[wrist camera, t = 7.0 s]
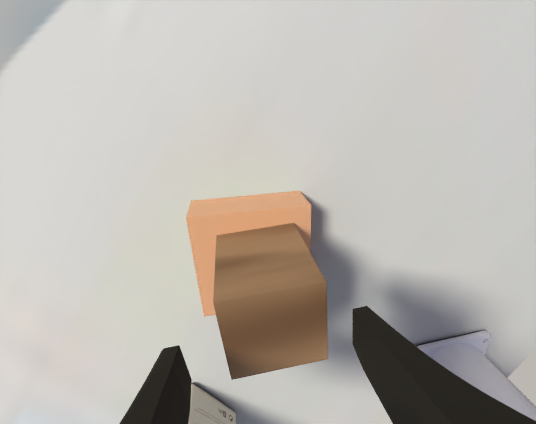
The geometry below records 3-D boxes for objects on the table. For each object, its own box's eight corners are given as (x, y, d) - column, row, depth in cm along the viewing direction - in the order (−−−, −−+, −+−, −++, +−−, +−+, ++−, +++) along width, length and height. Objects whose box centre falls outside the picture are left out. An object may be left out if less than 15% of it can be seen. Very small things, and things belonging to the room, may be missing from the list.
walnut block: (298, 284, 18) (327, 358, 13) (229, 297, 17) (231, 379, 12) (293, 222, 16) (326, 281, 11) (216, 235, 15) (213, 302, 10)
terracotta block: (298, 274, 21) (309, 301, 18) (206, 286, 20) (204, 316, 18) (298, 188, 18) (311, 205, 16) (192, 198, 17) (186, 217, 15)
